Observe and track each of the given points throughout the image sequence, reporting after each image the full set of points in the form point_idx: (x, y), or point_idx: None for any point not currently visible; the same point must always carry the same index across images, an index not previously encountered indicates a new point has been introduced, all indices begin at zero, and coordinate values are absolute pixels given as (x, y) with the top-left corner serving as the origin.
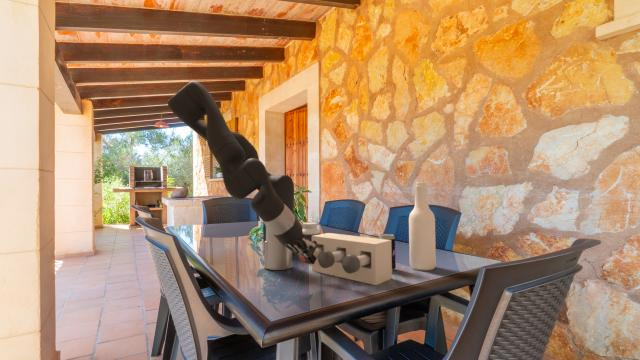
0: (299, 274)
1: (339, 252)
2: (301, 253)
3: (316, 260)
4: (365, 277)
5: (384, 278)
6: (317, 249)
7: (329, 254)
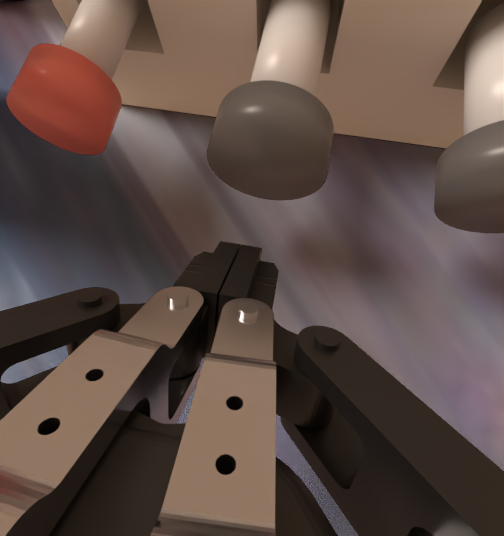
0: (82, 175)
1: (311, 26)
2: (184, 405)
3: None
4: (440, 128)
5: None
6: (105, 6)
7: (317, 134)
